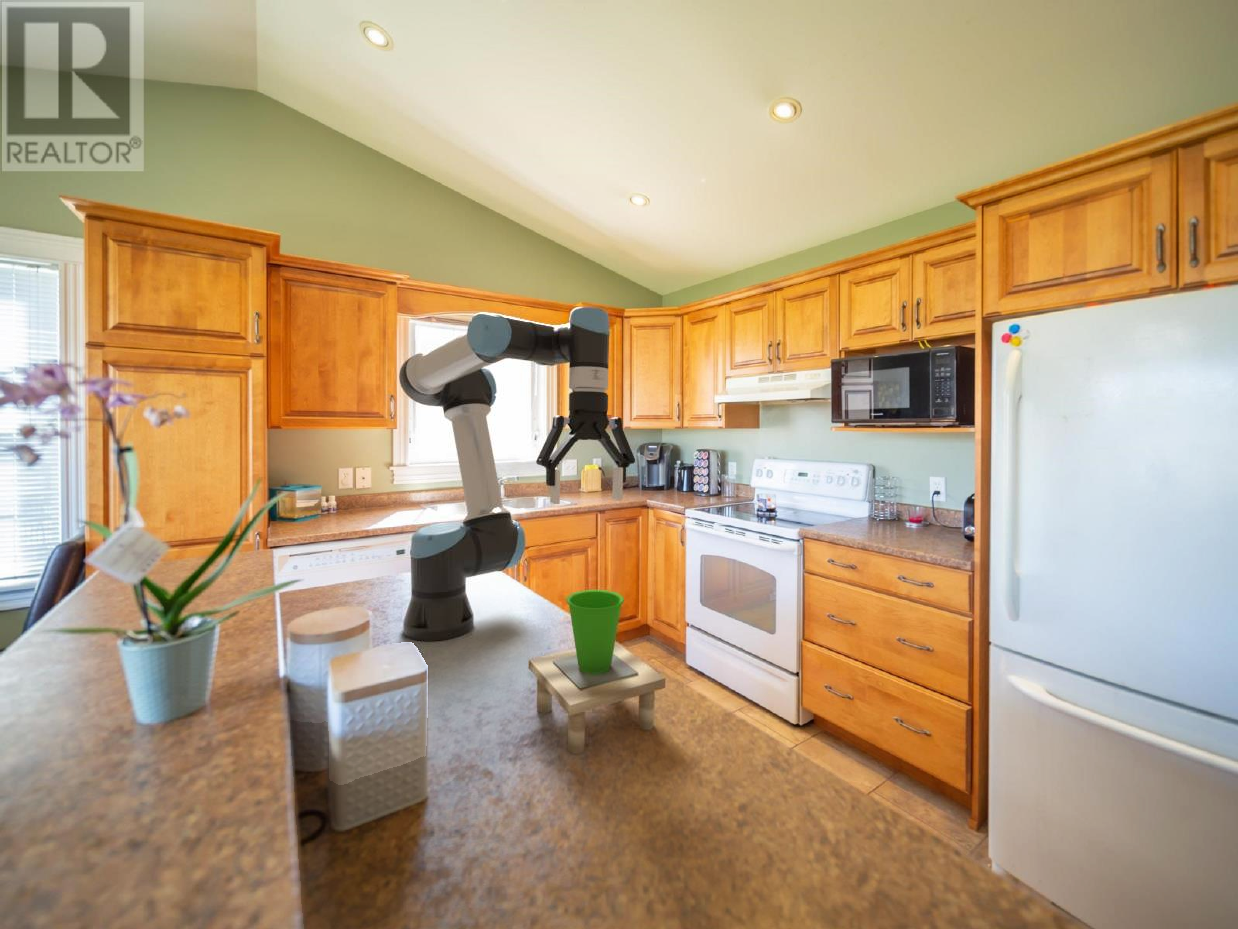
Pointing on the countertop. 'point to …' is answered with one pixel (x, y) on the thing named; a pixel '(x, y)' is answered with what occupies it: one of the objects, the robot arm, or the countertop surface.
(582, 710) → the stool
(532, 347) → the robot arm
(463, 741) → the countertop surface
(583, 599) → the cup
